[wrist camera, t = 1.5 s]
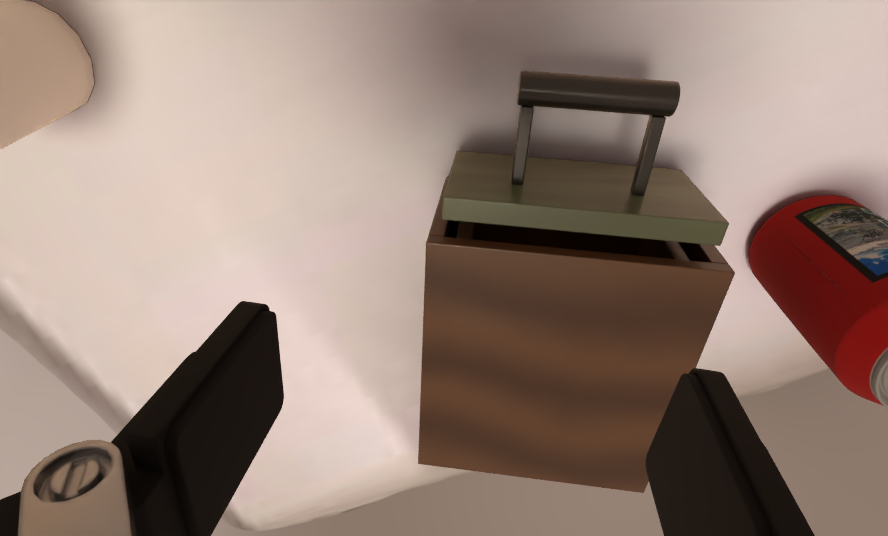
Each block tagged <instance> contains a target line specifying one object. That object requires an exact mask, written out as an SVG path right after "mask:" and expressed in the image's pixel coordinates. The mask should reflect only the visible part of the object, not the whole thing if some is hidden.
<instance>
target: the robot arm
mask: <svg viewBox="0 0 888 536" xmlns="http://www.w3.org/2000/svg"><path fill="white" fill-rule="evenodd" d="M283 399H284V393H283V383H282V372H281V362H280V352H279V341H278V331H277V321H276V314H275V313H274V312H271V311H269V307H268V306H267V305H266V304H259V303H253V302H246V301H242V302H240V303H239V304H238V305H237V306H236V307H235V308H234V309H233V310H232V311H231V313H230V314H229V315H228V316H227V317H226V318H225V319H224V321H223V322H222V323H221V324H220V325H219V326H218V327H217V328H216V330H215V331H214V332H213V333H212V334H211V335H210V336H209V338H208V339H207V340H206V341H205V342H204V343H203V344H202V345H201V347H200V348H199V349H198V350H197V351H196V352H193V353H191V354H190V355H189V356H188V357H187V358H186V359H185V360H184V361H183V362H182V363H181V365H180V366H179V367H178V368H177V369H176V370H175V371H174V372H173V373H172V375H171V376H170V377H169V378H168V379H167V380H166V381H165V382H164V384H163V385H162V386H161V387H160V388H159V389H158V390H157V391H156V393H155V394H154V395H153V396H152V397H151V398H150V399H149V400H148V401H147V403H146V404H145V405H144V406H143V407H142V408H141V409H140V410H139V412H138V413H137V414H136V415H135V416H134V417H133V418H132V419H131V420H130V422H129V423H128V424H127V425H126V426H125V427H124V428H123V429H122V431H121V432H120V433H119V434H118V435H117V436H116V437H115V438H114V440H113V441H112V442H111V443H110V442H106V441H103V440H87V441H82V442H78V443H73V444H71V445H68V446H66V447H64V448H61V449H59V450H57V451H55V452H54V453H52V454H50V455H49V456H47V457H45V458H44V459H43V460H42V461H41V462H39V463H38V464H37V465H36V466H35V467H34V468H33V469H32V470H31V472H30V473H29V474H28V476H27V477H26V479H25V480H24V483H23V487H22V490H21V492H19V493H16V494H13V495H11V496H8V497H6V498H3V499H1V500H0V536H211V534H212V533H213V531H214V529H215V527H216V525H217V524H218V522H219V520H220V518H221V517H222V515H223V513H224V511H225V509H226V508H227V506H228V504H229V502H230V500H231V499H232V497H233V495H234V493H235V491H236V490H237V488H238V486H239V484H240V482H241V481H242V479H243V477H244V475H245V473H246V472H247V470H248V468H249V466H250V464H251V463H252V461H253V459H254V457H255V456H256V454H257V452H258V450H259V448H260V447H261V445H262V443H263V441H264V439H265V438H266V436H267V434H268V432H269V430H270V429H271V427H272V425H273V423H274V421H275V420H276V418H277V416H278V414H279V412H280V410H281V408H282V405H283ZM646 472H647V475H648V479H649V483H650V486H651V490H652V493H653V497H654V501H655V504H656V508H657V512H658V515H659V519H660V522H661V526H662V530H663V533H664V536H814V534H813V532H812V530H811V528H810V526H809V525H808V523H807V521H806V519H805V517H804V515H803V514H802V512H801V510H800V508H799V507H798V505H797V503H796V501H795V499H794V497H793V496H792V494H791V492H790V490H789V488H788V487H787V485H786V483H785V481H784V479H783V478H782V476H781V474H780V472H779V470H778V468H777V467H776V465H775V463H774V462H773V459H772V458H771V456H770V454H769V452H768V450H767V449H766V447H765V446H764V444H763V443H762V442H761V440H760V438H759V437H758V435H757V433H756V431H755V429H754V427H753V426H752V424H751V422H750V420H749V418H748V417H747V415H746V413H745V411H744V409H743V407H742V406H741V404H740V402H739V400H738V398H737V397H736V395H735V393H734V391H733V389H732V387H731V386H730V384H729V382H728V380H727V378H726V377H725V375H724V374H723V373H721V372H717V371H710V370H704V369H697V368H694V369H692V370H691V371H690V372H689V374H686V373H684V374H682V375H681V377H680V379H679V381H678V383H677V386H676V388H675V390H674V393H673V395H672V397H671V399H670V402H669V404H668V406H667V409H666V411H665V413H664V416H663V418H662V420H661V422H660V425H659V427H658V429H657V432H656V434H655V436H654V439H653V441H652V443H651V445H650V448H649V450H648V452H647V455H646Z"/></svg>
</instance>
